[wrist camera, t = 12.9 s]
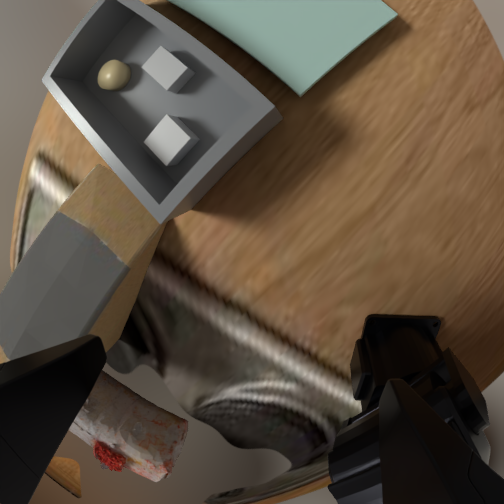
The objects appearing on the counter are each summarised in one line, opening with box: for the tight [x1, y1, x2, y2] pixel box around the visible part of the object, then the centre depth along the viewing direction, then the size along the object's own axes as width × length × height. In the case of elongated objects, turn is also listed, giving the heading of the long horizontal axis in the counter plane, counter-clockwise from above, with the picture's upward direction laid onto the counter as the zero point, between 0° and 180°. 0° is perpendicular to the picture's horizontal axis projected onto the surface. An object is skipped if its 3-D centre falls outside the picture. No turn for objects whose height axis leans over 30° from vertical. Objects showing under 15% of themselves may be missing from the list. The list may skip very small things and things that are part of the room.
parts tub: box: [42, 0, 283, 224], centre depth 16 cm, size 16×9×4 cm, turn 44°
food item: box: [69, 370, 188, 482], centre depth 25 cm, size 14×8×10 cm, turn 64°
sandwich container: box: [0, 164, 167, 364], centre depth 16 cm, size 9×15×15 cm, turn 149°
